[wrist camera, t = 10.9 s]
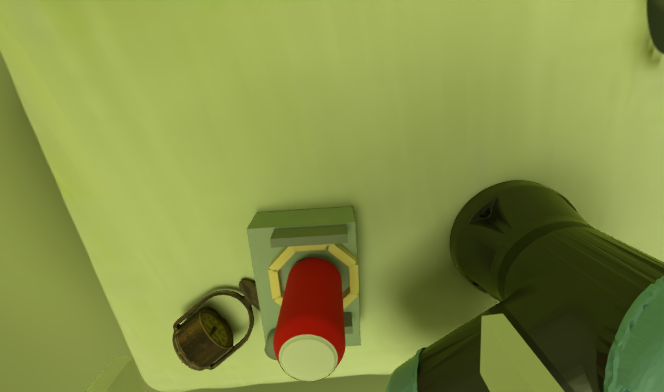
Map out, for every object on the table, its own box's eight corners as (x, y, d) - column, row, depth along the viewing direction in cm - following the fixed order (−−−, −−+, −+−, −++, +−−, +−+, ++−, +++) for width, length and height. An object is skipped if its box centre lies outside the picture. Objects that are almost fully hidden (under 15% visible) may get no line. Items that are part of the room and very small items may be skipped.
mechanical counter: (144, 317, 37) (171, 391, 38) (239, 296, 35) (265, 375, 36) (181, 291, 45) (203, 354, 45) (262, 272, 42) (283, 339, 43)
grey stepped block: (352, 206, 39) (357, 231, 32) (357, 318, 44) (362, 361, 37) (256, 212, 39) (240, 239, 32) (273, 323, 44) (262, 367, 37)
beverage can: (320, 243, 35) (315, 316, 23) (351, 281, 36) (361, 367, 25) (277, 271, 36) (253, 354, 24) (310, 307, 37) (301, 401, 26)
